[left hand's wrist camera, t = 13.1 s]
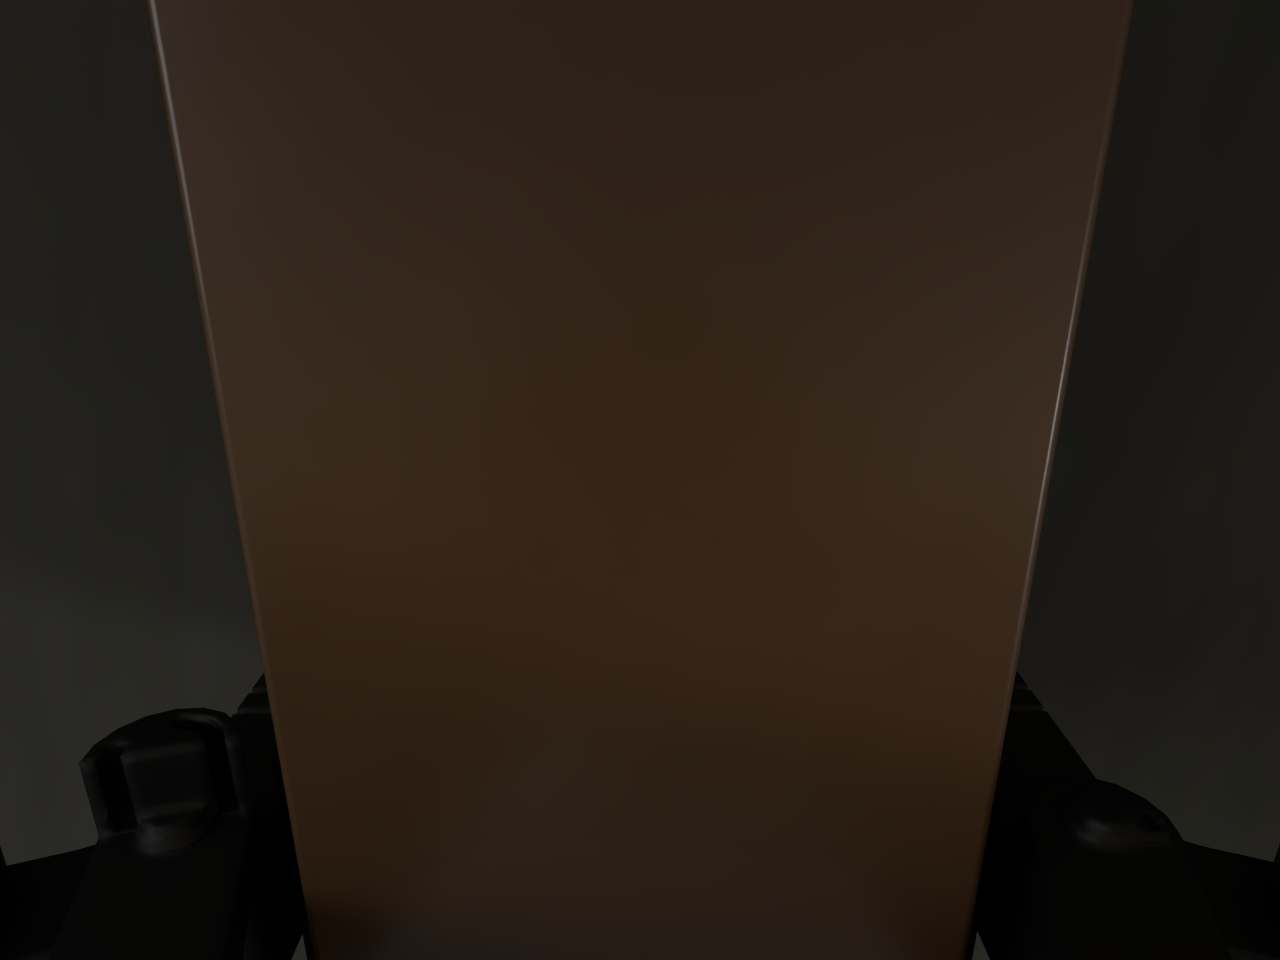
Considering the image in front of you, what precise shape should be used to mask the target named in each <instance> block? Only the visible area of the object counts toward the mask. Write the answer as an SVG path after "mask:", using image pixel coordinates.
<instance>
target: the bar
mask: <svg viewBox="0 0 1280 960" xmlns="http://www.w3.org/2000/svg"><path fill="white" fill-rule="evenodd" d="M145 2H146V8H147V13H148V19H149V25H150V30H151V36H152V42H153V47H154V53H155V59H156V64H157V70H158V76H159V81H160V87H161V92H162V98H163V104H164V109H165V115H166V121H167V126H168V132H169V138H170V143H171V149H172V155H173V160H174V166H175V172H176V177H177V183H178V189H179V194H180V200H181V206H182V211H183V217H184V222H185V228H186V234H187V239H188V245H189V251H190V256H191V262H192V268H193V273H194V279H195V285H196V290H197V296H198V302H199V307H200V313H201V319H202V324H203V330H204V336H205V341H206V347H207V353H208V358H209V364H210V369H211V375H212V381H213V386H214V392H215V398H216V403H217V409H218V415H219V420H220V426H221V432H222V437H223V443H224V449H225V454H226V460H227V466H228V471H229V477H230V483H231V488H232V494H233V499H234V505H235V511H236V516H237V522H238V528H239V533H240V539H241V545H242V550H243V556H244V562H245V567H246V573H247V579H248V584H249V590H250V596H251V601H252V607H253V613H254V618H255V624H256V629H257V635H258V641H259V646H260V652H261V658H262V663H263V669H264V675H265V680H266V686H267V692H268V697H269V703H270V709H271V714H272V720H273V726H274V731H275V737H276V743H277V748H278V754H279V759H280V765H281V771H282V776H283V782H284V788H285V793H286V799H287V805H288V810H289V816H290V822H291V827H292V833H293V839H294V844H295V850H296V856H297V861H298V867H299V873H300V878H301V884H302V889H303V895H304V901H305V906H306V912H307V918H308V923H309V929H310V935H311V940H312V946H313V952H314V957H315V960H965V958H966V952H967V947H968V941H969V935H970V930H971V924H972V918H973V913H974V907H975V901H976V896H977V890H978V884H979V879H980V873H981V867H982V862H983V856H984V851H985V845H986V839H987V834H988V828H989V822H990V817H991V811H992V805H993V800H994V794H995V788H996V783H997V777H998V771H999V766H1000V760H1001V754H1002V749H1003V743H1004V737H1005V732H1006V726H1007V721H1008V715H1009V709H1010V704H1011V698H1012V692H1013V687H1014V681H1015V675H1016V670H1017V664H1018V658H1019V653H1020V647H1021V641H1022V636H1023V630H1024V624H1025V619H1026V613H1027V607H1028V602H1029V596H1030V591H1031V585H1032V579H1033V574H1034V568H1035V562H1036V557H1037V551H1038V545H1039V540H1040V534H1041V528H1042V523H1043V517H1044V511H1045V506H1046V500H1047V494H1048V489H1049V483H1050V477H1051V472H1052V466H1053V461H1054V455H1055V449H1056V444H1057V438H1058V432H1059V427H1060V421H1061V415H1062V410H1063V404H1064V398H1065V393H1066V387H1067V381H1068V376H1069V370H1070V364H1071V359H1072V353H1073V347H1074V342H1075V336H1076V331H1077V325H1078V319H1079V314H1080V308H1081V302H1082V297H1083V291H1084V285H1085V280H1086V274H1087V268H1088V263H1089V257H1090V251H1091V246H1092V240H1093V234H1094V229H1095V223H1096V217H1097V212H1098V206H1099V201H1100V195H1101V189H1102V184H1103V178H1104V172H1105V167H1106V161H1107V155H1108V150H1109V144H1110V138H1111V133H1112V127H1113V121H1114V116H1115V110H1116V104H1117V99H1118V93H1119V87H1120V82H1121V76H1122V71H1123V65H1124V59H1125V54H1126V48H1127V42H1128V37H1129V31H1130V25H1131V20H1132V14H1133V8H1134V3H1135V0H145Z"/></svg>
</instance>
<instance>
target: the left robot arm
mask: <svg viewBox="0 0 1280 960" xmlns="http://www.w3.org/2000/svg"><path fill="white" fill-rule="evenodd" d="M79 766H80V769H81V773H82V777H83V780H84V784H85V787H86V791H87V795H88V798H89V802H90V806H91V809H92V813H93V816H94V820H95V824H96V827H97V831H98V834H99V839H98V841H97V844H96V845H92V846H89V847H86V848H82V849H79V850H75V851H71V852H66V853H62V854H57V855H53V856H48V857H44V858H40V859H35V860H31V861H26V862H22V863H17V864H13V865H8V866H7V865H6V862H5V859H4V856H3V853H2V850H1V847H0V960H291V959H292V957H293V954H294V952H295V950H296V947H297V945H298V943H299V940H300V938H301V936H302V934H303V938H304V943H305V949H306V954H307V960H315V957H314V952H313V946H312V940H311V935H310V929H309V923H308V918H307V912H306V906H305V901H304V895H303V889H302V884H301V878H300V873H299V867H298V861H297V856H296V850H295V844H294V839H293V833H292V827H291V822H290V816H289V810H288V805H287V799H286V793H285V788H284V782H283V776H282V771H281V765H280V759H279V754H278V748H277V743H276V737H275V731H274V726H273V720H272V714H271V709H270V703H269V697H268V692H267V686H266V680H265V675H264V673H263V675H262V676H261V677H260V679H259V680H258V681H257V683H256V684H255V686H254V687H253V688H252V693H249V694H248V695H247V697H246V698H245V699H244V701H243V702H242V703H241V705H240V706H239V707H238V709H237V714H233V716H232V717H231V718H230V717H229V716H228V715H227V714H226V713H224V712H219V711H215V710H211V709H206V708H189V709H174V710H170V711H166V712H162V713H158V714H154V715H150V716H146V717H144V718H141V719H139V720H137V721H134V722H132V723H130V724H128V725H125V726H123V727H121V728H118V729H117V730H115V731H114V732H112V733H111V734H109V735H108V736H107V737H105V738H104V739H102V740H101V741H99V742H98V743H96V744H95V745H94V746H93V747H92V748H91V749H90V751H89V752H88V753H87V754H86V756H85V757H84V758H83V759H82V760H81V762H80V763H79ZM977 931H978V933H979V935H980V938H981V940H982V942H983V944H984V947H985V949H986V951H987V954H988V956H989V958H990V960H1280V845H1279V848H1278V851H1277V854H1276V857H1275V860H1274V862H1270V861H1266V860H1262V859H1257V858H1253V857H1248V856H1244V855H1239V854H1235V853H1230V852H1226V851H1221V850H1217V849H1212V848H1208V847H1203V846H1200V845H1197V844H1193V843H1190V842H1186V841H1183V840H1182V837H1181V835H1180V834H1179V832H1178V831H1177V830H1176V828H1175V827H1174V825H1173V824H1172V822H1171V821H1170V819H1169V818H1168V817H1167V816H1166V815H1165V814H1164V813H1163V812H1161V811H1160V810H1159V809H1157V808H1156V807H1155V806H1154V805H1152V804H1151V803H1150V802H1149V801H1147V800H1146V799H1145V798H1143V797H1141V796H1139V795H1137V794H1135V793H1133V792H1131V791H1129V790H1127V789H1125V788H1123V787H1121V786H1119V785H1116V784H1113V783H1109V782H1105V781H1102V780H1098V779H1096V778H1095V777H1094V775H1093V774H1092V773H1091V771H1090V770H1089V768H1088V767H1087V766H1086V764H1085V763H1084V762H1083V760H1082V759H1081V758H1080V756H1079V755H1078V754H1077V752H1076V751H1075V749H1074V748H1073V747H1072V745H1071V744H1070V743H1069V741H1068V740H1067V739H1066V737H1065V736H1064V735H1063V733H1062V732H1061V730H1060V729H1059V728H1058V726H1057V725H1056V724H1055V722H1054V721H1053V720H1052V718H1051V717H1050V715H1049V714H1048V713H1047V711H1043V706H1042V705H1041V703H1040V702H1039V701H1038V699H1037V698H1036V696H1035V695H1034V694H1033V692H1032V691H1031V690H1028V688H1027V684H1026V683H1025V682H1024V680H1023V679H1022V677H1021V676H1020V675H1019V673H1018V672H1017V671H1016V675H1015V681H1014V687H1013V692H1012V698H1011V704H1010V709H1009V715H1008V721H1007V726H1006V732H1005V737H1004V743H1003V749H1002V754H1001V760H1000V766H999V771H998V777H997V783H996V788H995V794H994V800H993V805H992V811H991V817H990V822H989V828H988V834H987V839H986V845H985V851H984V856H983V862H982V867H981V873H980V879H979V884H978V890H977V896H976V901H975V907H974V913H973V918H972V924H971V930H970V935H969V941H968V947H967V952H966V958H965V960H972V956H973V951H974V945H975V940H976V934H977Z"/></svg>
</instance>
